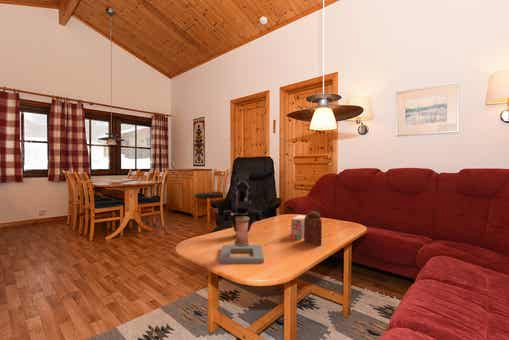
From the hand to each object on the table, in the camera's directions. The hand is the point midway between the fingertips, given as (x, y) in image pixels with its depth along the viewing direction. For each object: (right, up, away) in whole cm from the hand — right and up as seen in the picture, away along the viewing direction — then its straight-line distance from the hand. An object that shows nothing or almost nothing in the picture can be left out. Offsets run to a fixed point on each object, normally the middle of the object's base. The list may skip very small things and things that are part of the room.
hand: (241, 231), depth 120 cm
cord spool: (0, -7, +2) cm, 7 cm away
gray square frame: (0, -13, +3) cm, 13 cm away
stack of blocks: (+36, -12, +40) cm, 55 cm away
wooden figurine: (+39, -13, +24) cm, 48 cm away
